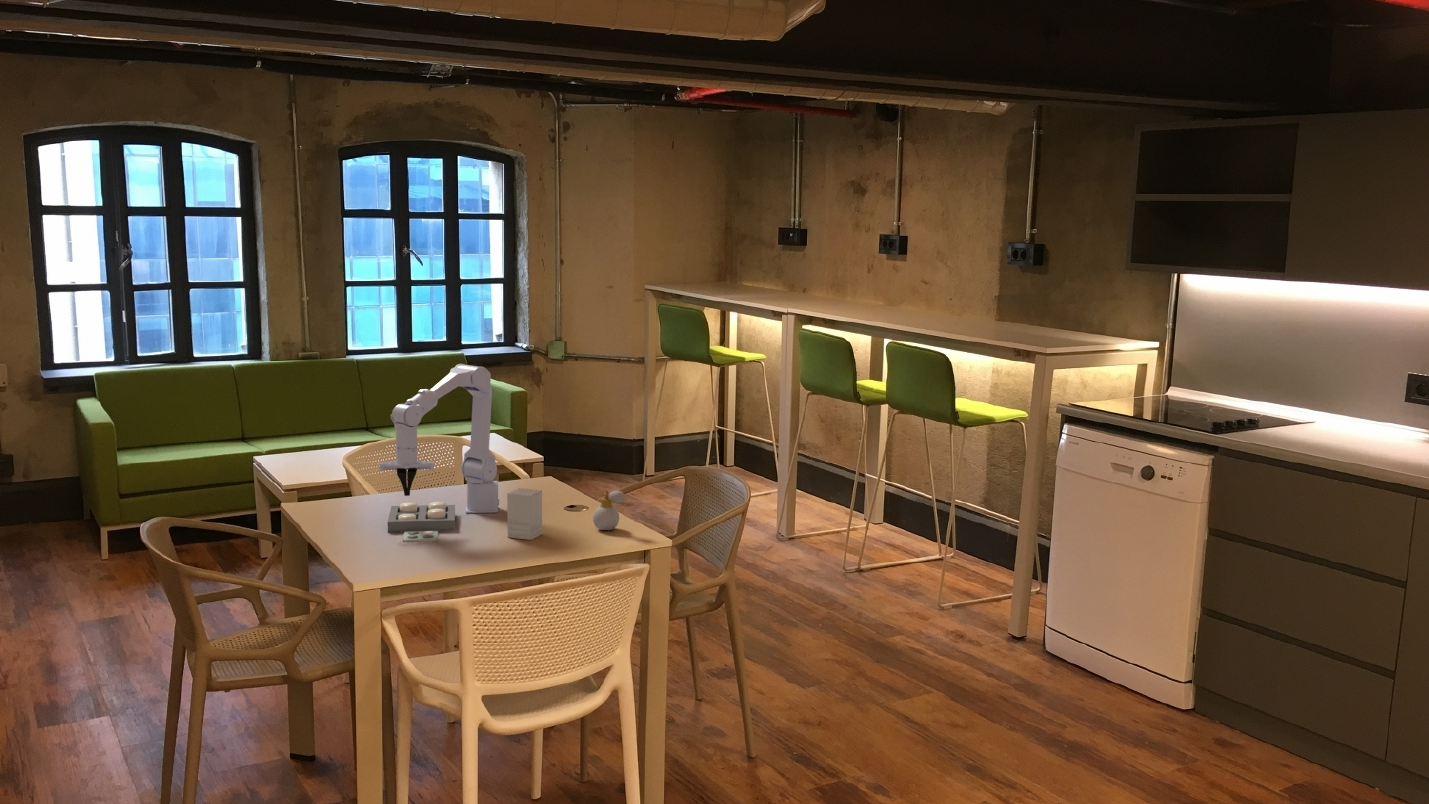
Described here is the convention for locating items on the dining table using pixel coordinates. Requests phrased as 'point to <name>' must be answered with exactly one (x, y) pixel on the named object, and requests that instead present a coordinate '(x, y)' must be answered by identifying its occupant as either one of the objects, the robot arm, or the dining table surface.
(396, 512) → the button board
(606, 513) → the perfume bottle
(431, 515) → the button
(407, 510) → the button
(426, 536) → the tile
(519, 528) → the supplement box
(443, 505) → the button
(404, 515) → the button
